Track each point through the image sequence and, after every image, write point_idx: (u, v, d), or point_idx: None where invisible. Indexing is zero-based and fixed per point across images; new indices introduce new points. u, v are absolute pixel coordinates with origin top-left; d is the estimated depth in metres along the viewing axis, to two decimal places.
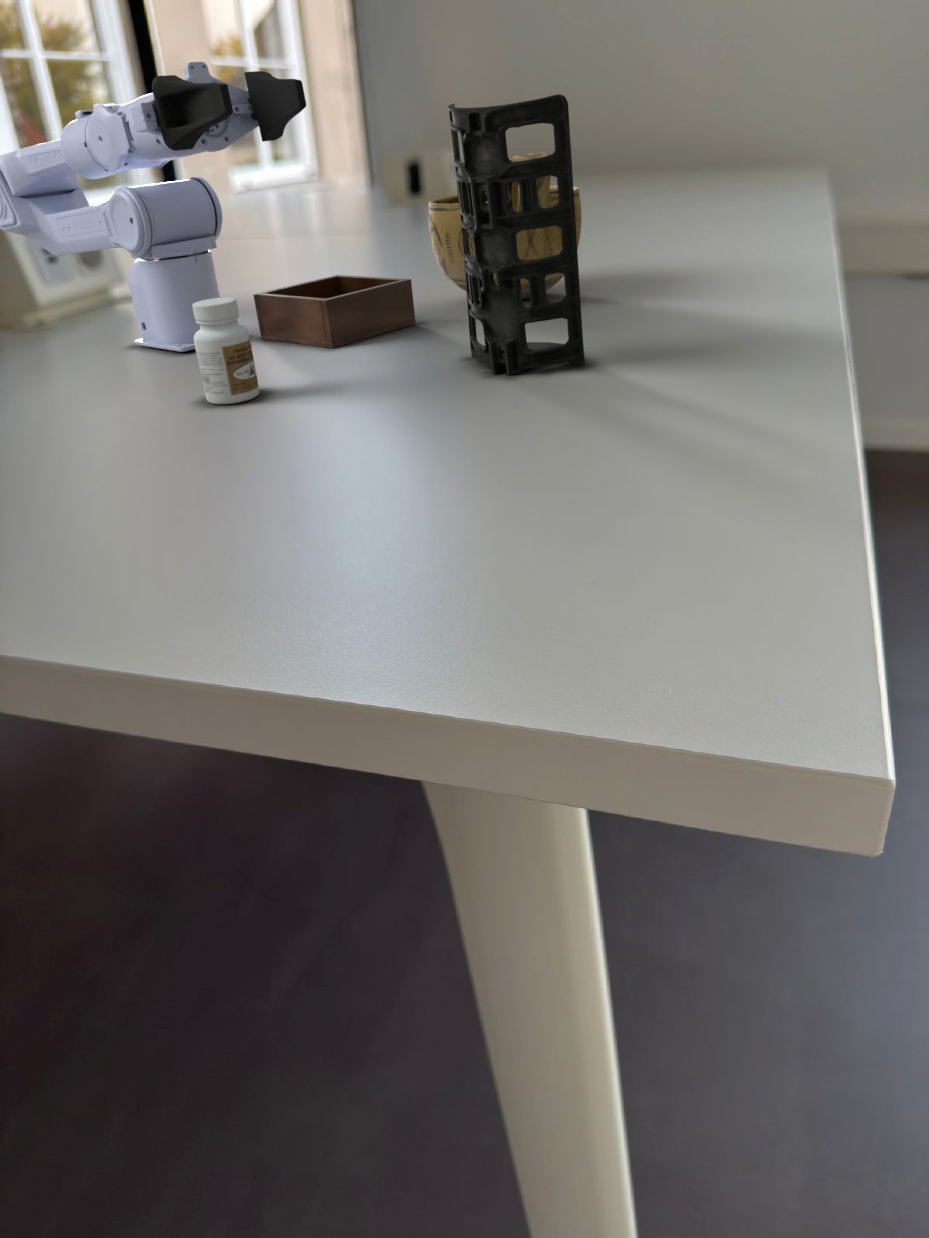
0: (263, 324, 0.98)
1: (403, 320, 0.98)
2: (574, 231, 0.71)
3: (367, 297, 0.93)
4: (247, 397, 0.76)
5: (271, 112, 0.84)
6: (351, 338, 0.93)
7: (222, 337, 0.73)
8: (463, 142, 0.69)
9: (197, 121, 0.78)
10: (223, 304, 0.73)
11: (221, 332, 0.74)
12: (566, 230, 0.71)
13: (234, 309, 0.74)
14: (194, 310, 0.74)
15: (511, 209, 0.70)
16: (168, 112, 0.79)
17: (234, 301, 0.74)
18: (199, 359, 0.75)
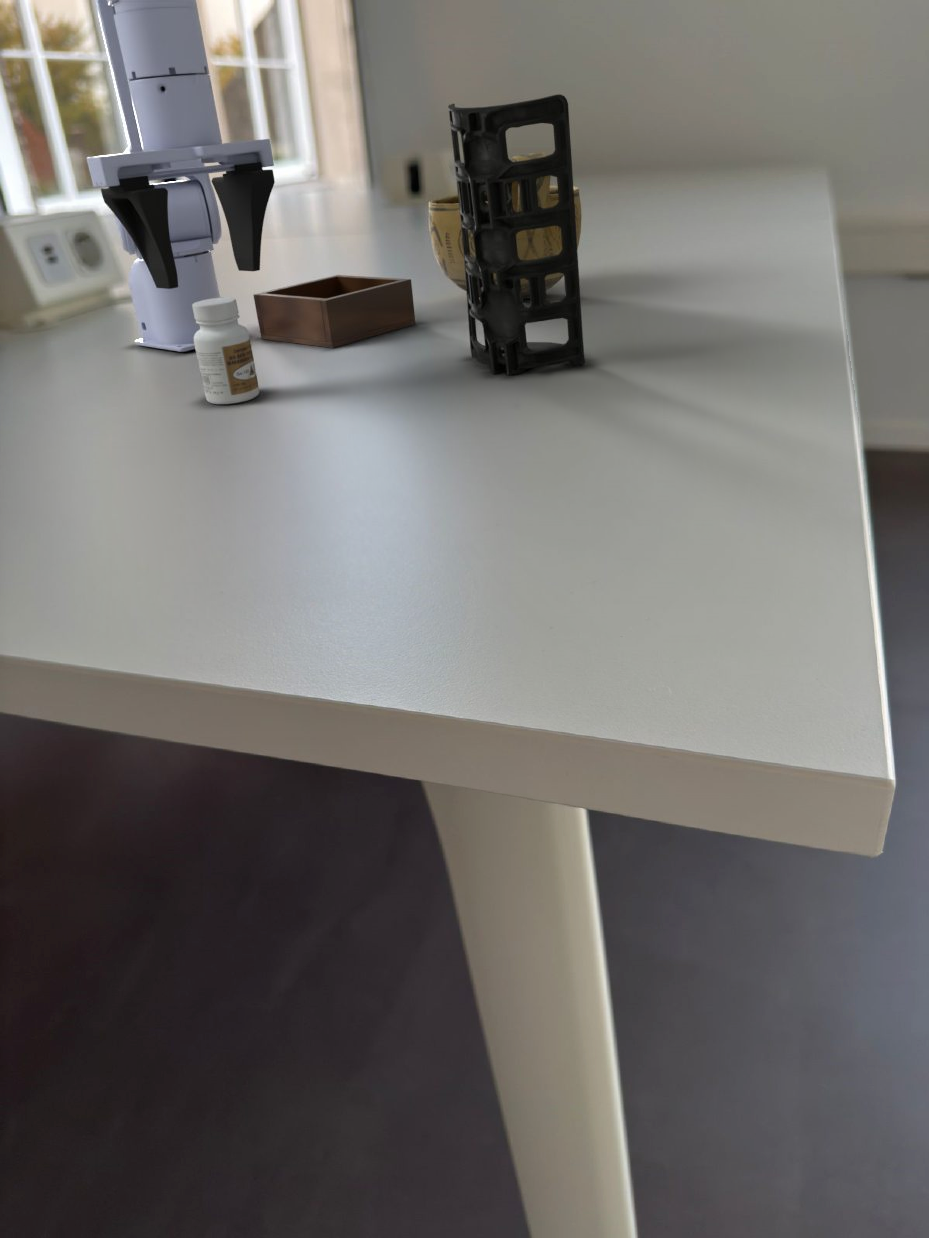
0: (263, 324, 0.98)
1: (403, 320, 0.98)
2: (574, 231, 0.71)
3: (367, 297, 0.93)
4: (247, 397, 0.76)
5: (231, 212, 0.74)
6: (351, 338, 0.93)
7: (222, 338, 0.73)
8: (463, 142, 0.69)
9: (140, 231, 0.69)
10: (223, 304, 0.73)
11: (221, 332, 0.74)
12: (566, 231, 0.71)
13: (234, 309, 0.74)
14: (194, 310, 0.74)
15: (511, 209, 0.70)
16: None
17: (234, 301, 0.74)
18: (199, 359, 0.75)
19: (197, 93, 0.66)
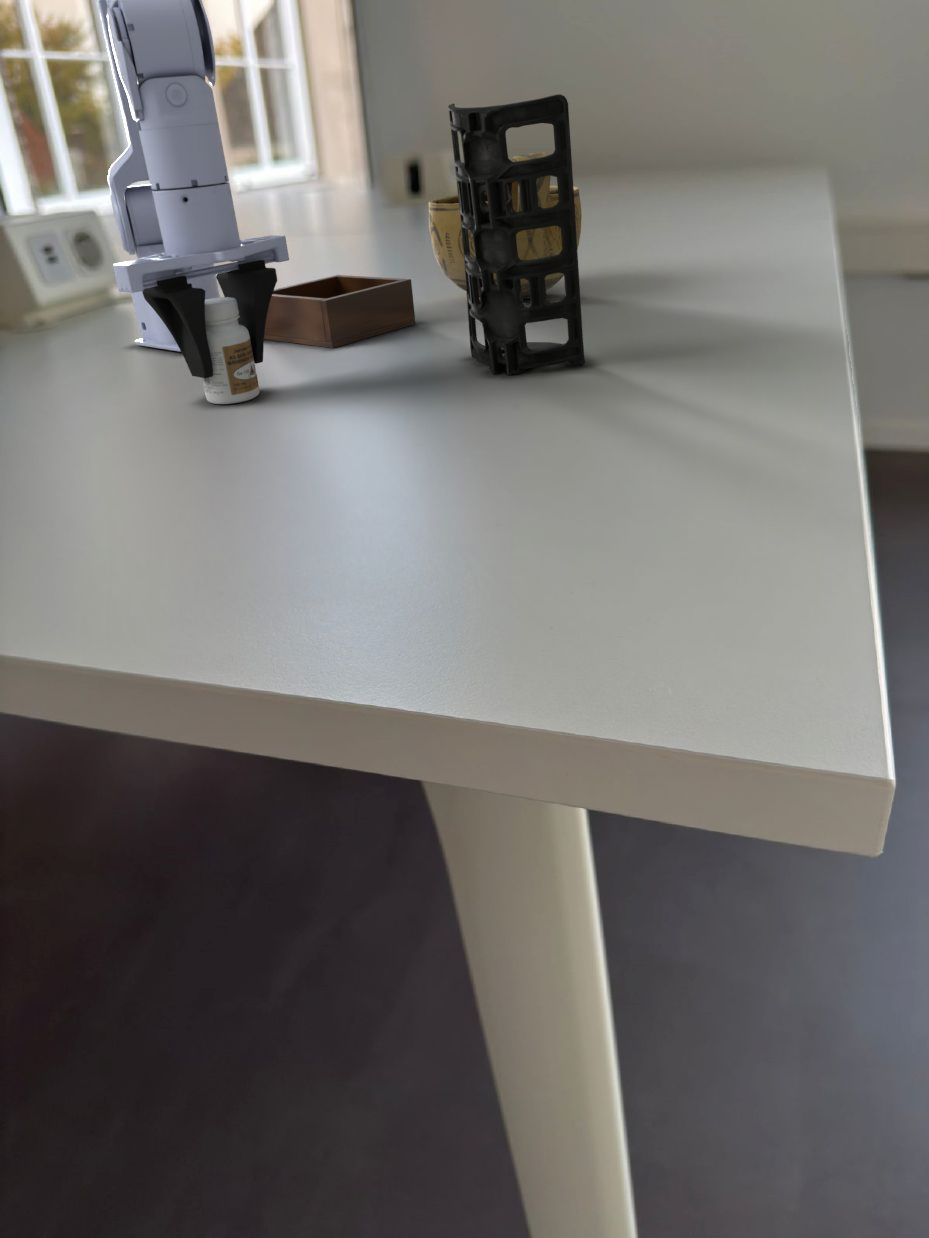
0: None
1: (403, 320, 0.98)
2: (574, 231, 0.71)
3: (367, 297, 0.93)
4: (247, 396, 0.76)
5: None
6: (351, 338, 0.93)
7: (223, 337, 0.74)
8: (463, 142, 0.69)
9: (177, 325, 0.73)
10: (223, 304, 0.73)
11: (221, 332, 0.74)
12: (566, 230, 0.71)
13: (234, 309, 0.74)
14: None
15: (511, 209, 0.70)
16: None
17: (234, 301, 0.74)
18: None
19: (218, 202, 0.69)
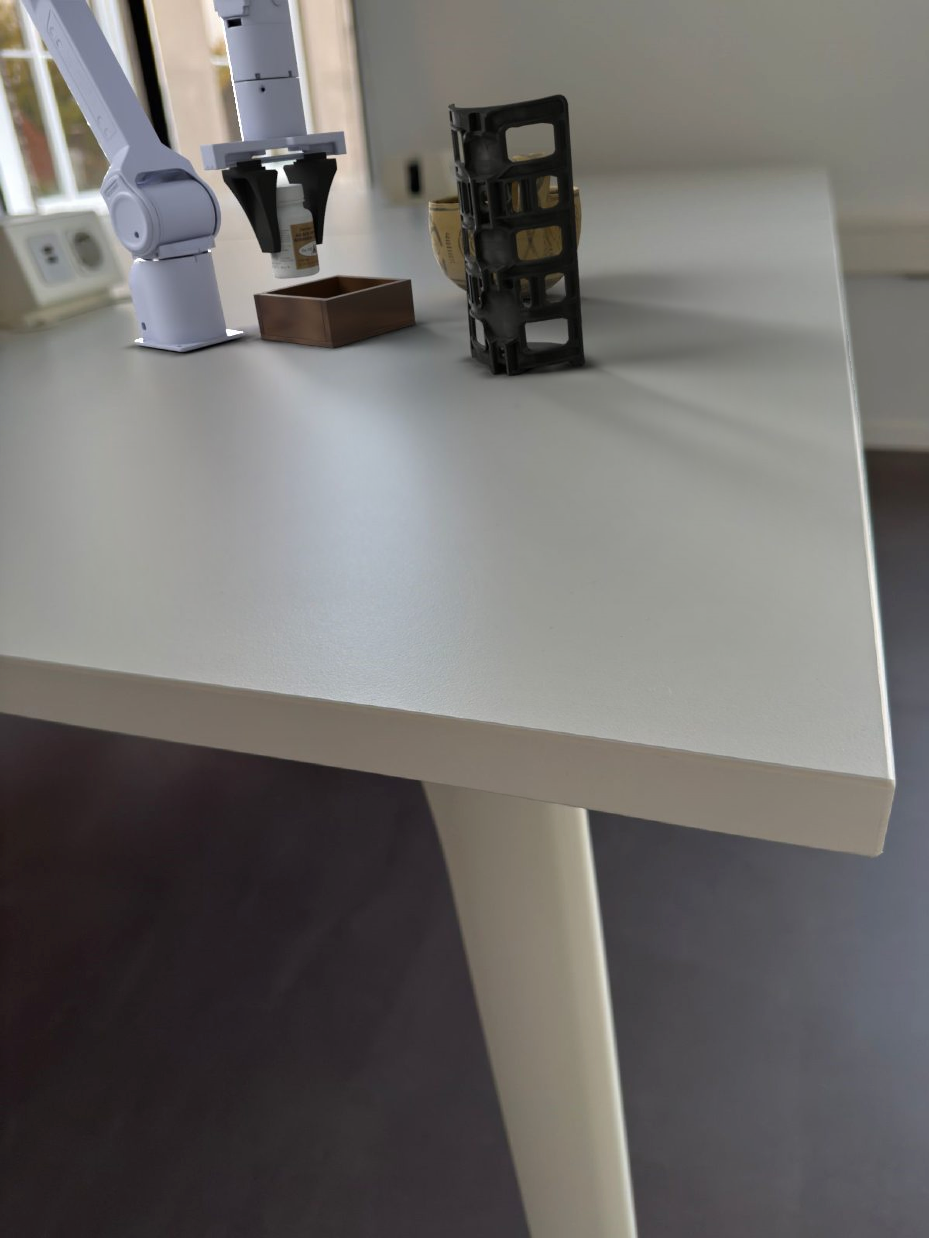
0: (263, 324, 0.98)
1: (403, 320, 0.98)
2: (574, 231, 0.71)
3: (367, 297, 0.93)
4: (310, 272, 0.87)
5: None
6: (351, 338, 0.93)
7: (291, 216, 0.84)
8: (463, 142, 0.69)
9: (251, 205, 0.84)
10: (292, 187, 0.84)
11: (289, 212, 0.85)
12: (566, 230, 0.71)
13: (300, 192, 0.85)
14: None
15: (511, 209, 0.70)
16: None
17: (301, 185, 0.85)
18: None
19: (290, 93, 0.80)
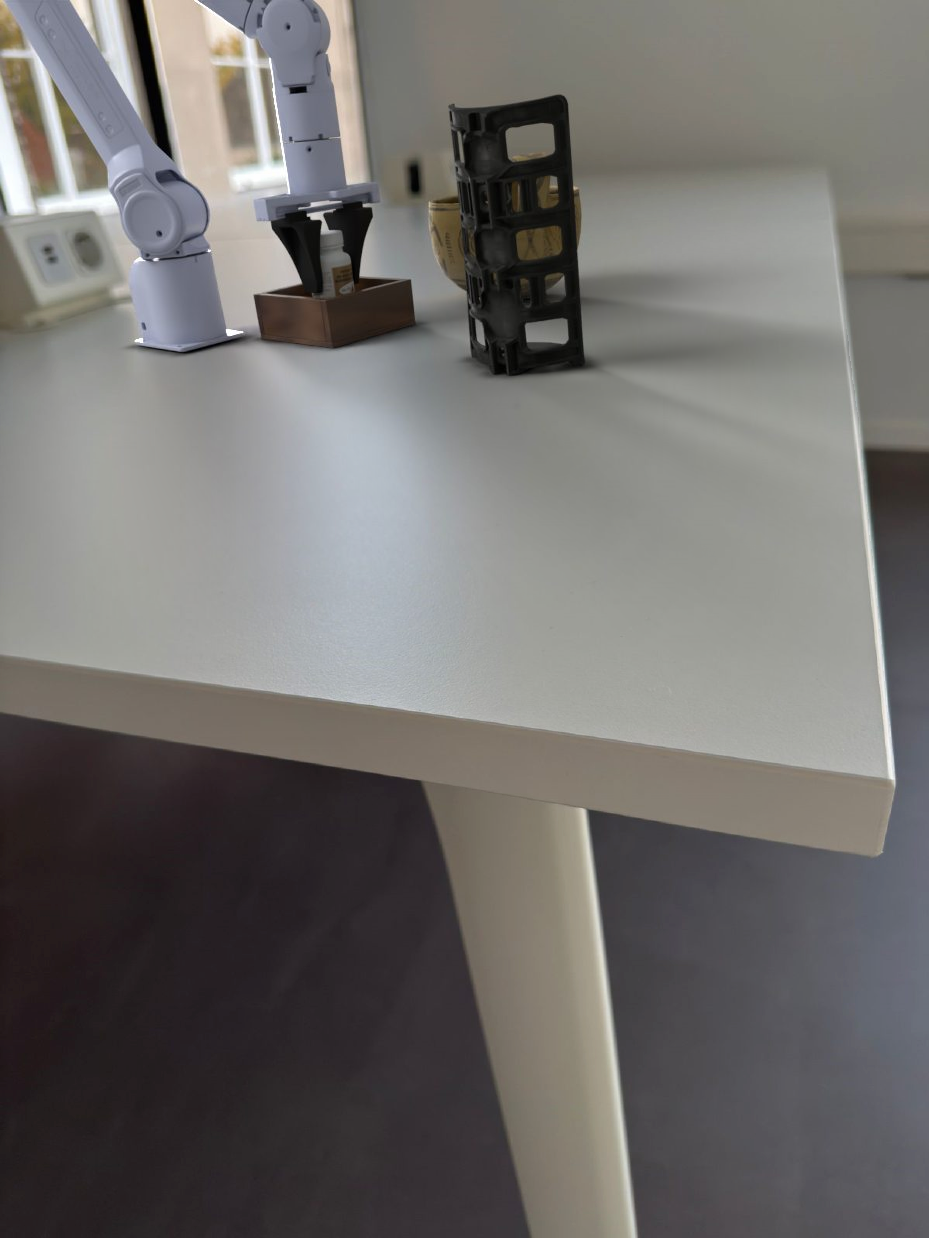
0: (263, 324, 0.98)
1: (403, 320, 0.98)
2: (574, 231, 0.71)
3: (367, 297, 0.93)
4: None
5: None
6: (351, 338, 0.93)
7: (332, 260, 0.94)
8: (463, 142, 0.69)
9: (296, 250, 0.94)
10: (333, 234, 0.93)
11: (331, 256, 0.94)
12: (566, 231, 0.71)
13: (341, 238, 0.94)
14: None
15: (511, 209, 0.70)
16: None
17: (341, 232, 0.94)
18: None
19: (333, 152, 0.89)
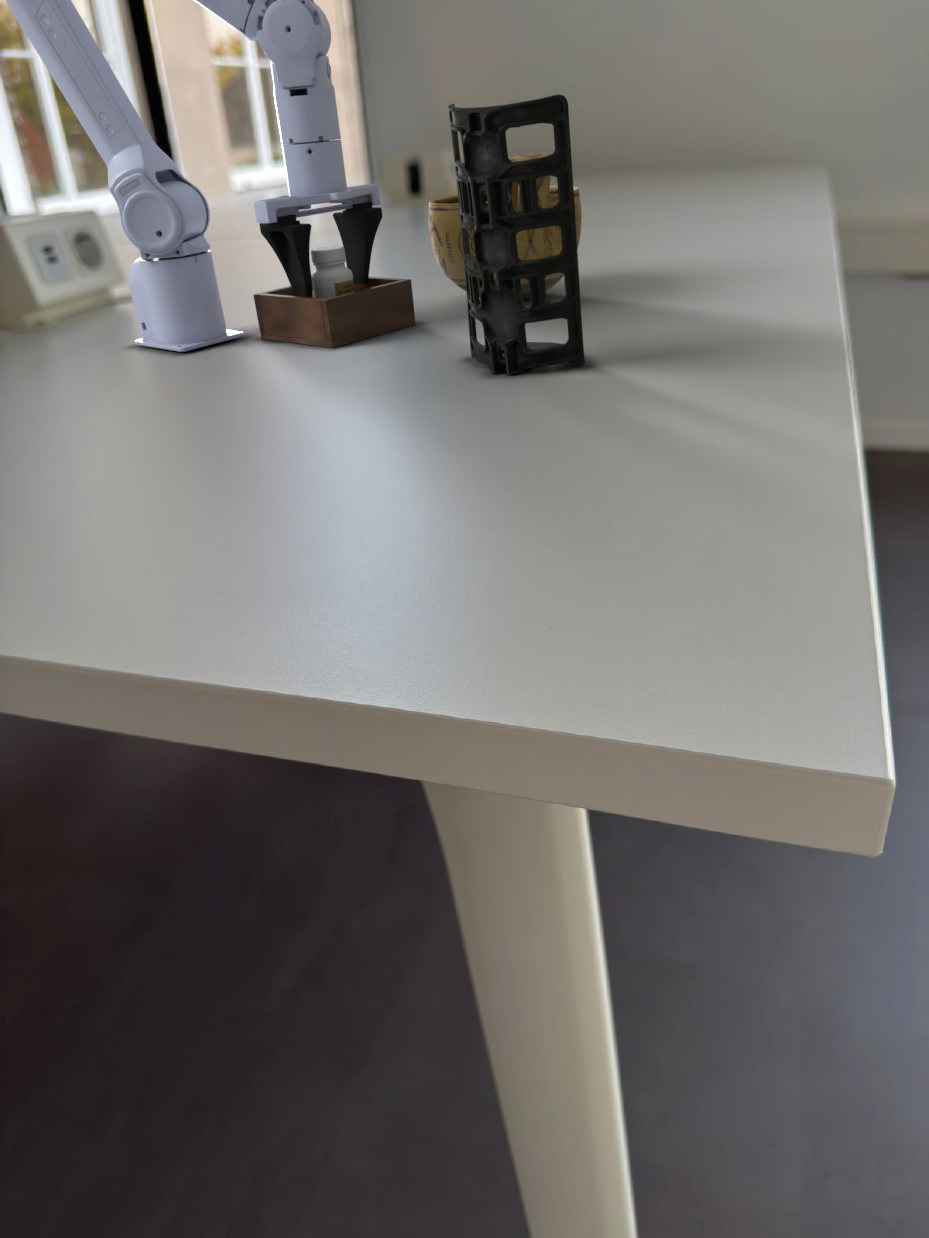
0: (263, 324, 0.98)
1: (403, 320, 0.98)
2: (574, 231, 0.71)
3: (367, 297, 0.93)
4: None
5: (348, 239, 0.98)
6: (351, 338, 0.93)
7: (334, 276, 0.94)
8: (463, 142, 0.69)
9: (286, 255, 0.93)
10: (336, 250, 0.94)
11: (333, 272, 0.95)
12: (566, 231, 0.71)
13: (343, 254, 0.95)
14: (312, 255, 0.94)
15: (511, 209, 0.70)
16: None
17: (343, 248, 0.95)
18: (314, 294, 0.96)
19: (333, 154, 0.89)
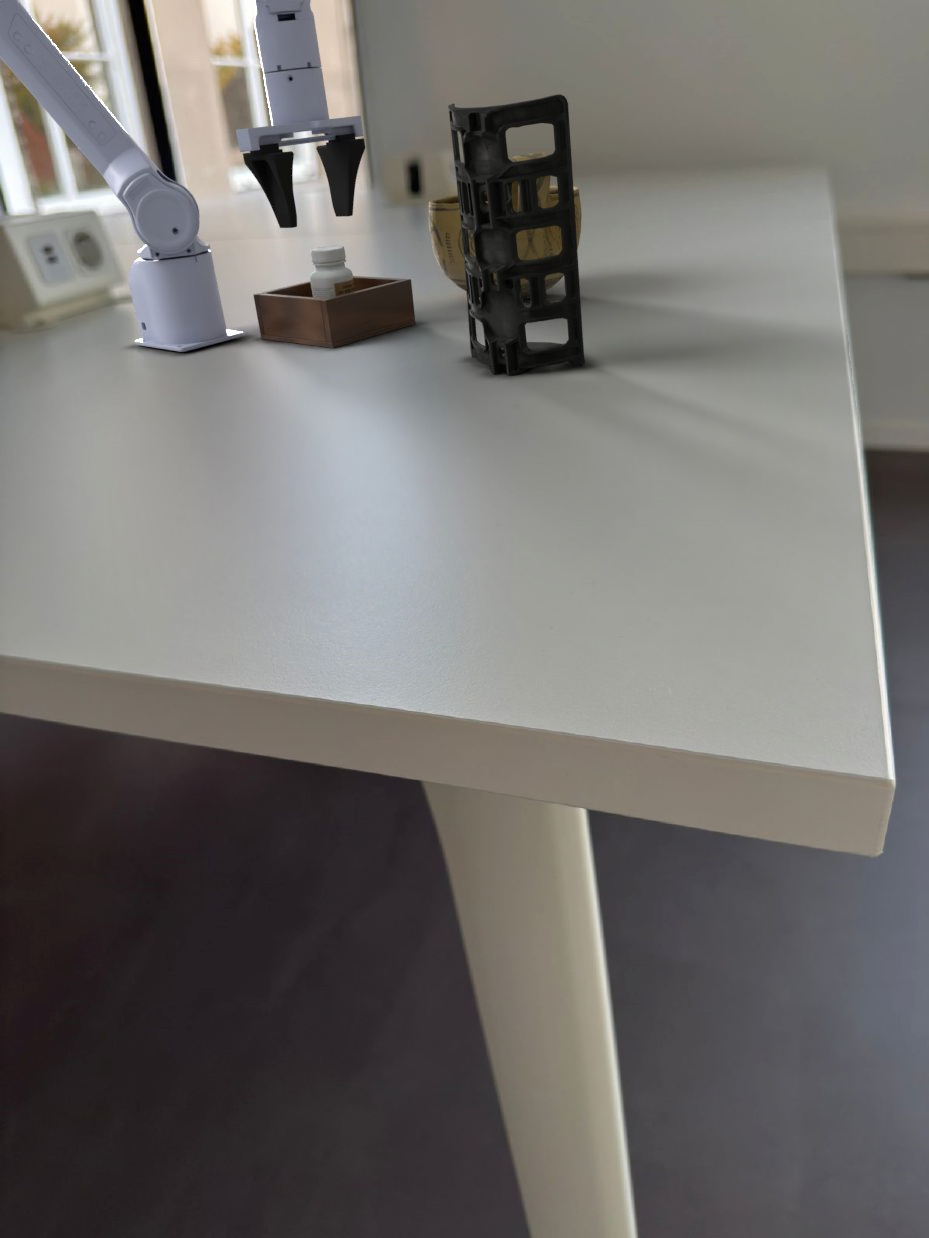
0: (263, 324, 0.98)
1: (403, 320, 0.98)
2: (574, 231, 0.71)
3: (367, 297, 0.93)
4: None
5: (332, 171, 0.98)
6: (351, 338, 0.93)
7: (334, 276, 0.94)
8: (463, 142, 0.69)
9: (270, 185, 0.94)
10: (336, 250, 0.94)
11: (333, 272, 0.95)
12: (566, 231, 0.71)
13: (343, 254, 0.95)
14: (312, 255, 0.94)
15: (511, 209, 0.70)
16: None
17: (343, 248, 0.95)
18: (314, 294, 0.96)
19: (314, 81, 0.90)
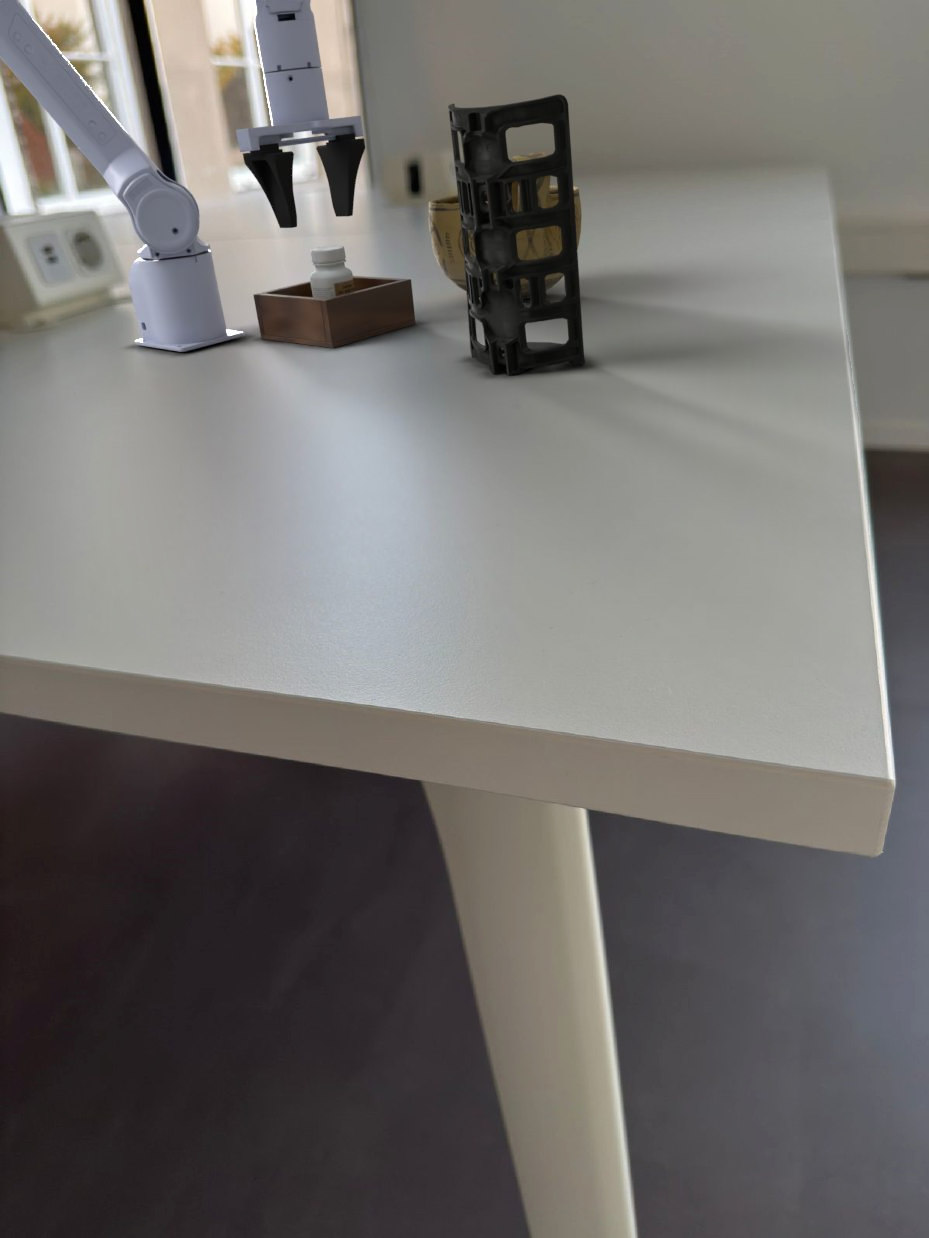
0: (263, 324, 0.98)
1: (403, 320, 0.98)
2: (574, 231, 0.71)
3: (367, 297, 0.93)
4: None
5: (332, 171, 0.98)
6: (351, 338, 0.93)
7: (334, 276, 0.94)
8: (463, 142, 0.69)
9: (270, 185, 0.94)
10: (335, 250, 0.94)
11: (333, 272, 0.95)
12: (566, 231, 0.71)
13: (343, 254, 0.95)
14: (312, 255, 0.94)
15: (511, 209, 0.70)
16: None
17: (343, 248, 0.95)
18: (314, 294, 0.96)
19: (314, 81, 0.90)
